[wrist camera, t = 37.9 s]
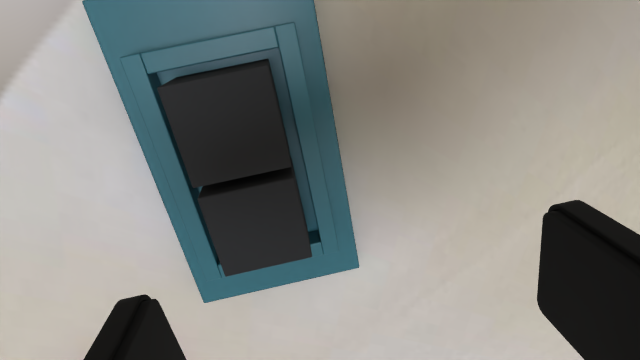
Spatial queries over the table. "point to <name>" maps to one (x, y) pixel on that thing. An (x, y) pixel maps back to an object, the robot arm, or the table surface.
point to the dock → (294, 100)
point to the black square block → (256, 221)
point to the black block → (227, 122)
